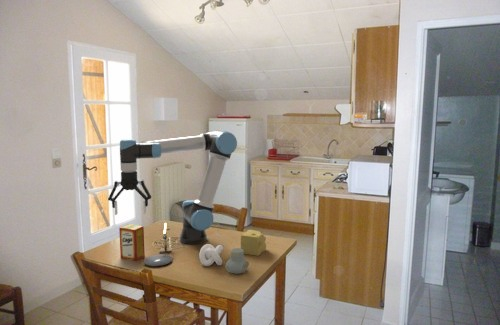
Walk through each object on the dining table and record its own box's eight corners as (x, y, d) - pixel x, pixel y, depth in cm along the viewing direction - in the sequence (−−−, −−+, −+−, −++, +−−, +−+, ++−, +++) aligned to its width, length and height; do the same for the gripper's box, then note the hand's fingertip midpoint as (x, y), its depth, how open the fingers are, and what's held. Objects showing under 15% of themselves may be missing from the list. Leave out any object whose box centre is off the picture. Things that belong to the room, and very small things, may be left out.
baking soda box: (144, 256, 185) (143, 225, 183) (136, 260, 179) (134, 229, 177) (129, 253, 189) (128, 223, 187) (120, 258, 183) (119, 227, 181)
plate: (172, 256, 185) (172, 253, 185) (171, 266, 173) (171, 263, 172) (145, 258, 183) (145, 255, 183) (143, 268, 170) (143, 265, 170)
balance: (171, 246, 199) (171, 221, 198) (171, 255, 186) (170, 229, 184) (160, 247, 198) (159, 222, 197) (159, 256, 185) (158, 230, 183)
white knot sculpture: (230, 266, 173) (229, 247, 172) (206, 271, 167) (206, 252, 166) (219, 258, 183) (219, 240, 182) (197, 263, 177) (196, 245, 176)
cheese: (266, 249, 194) (266, 231, 193) (258, 256, 185) (258, 237, 183) (248, 247, 199) (248, 229, 197) (239, 253, 189) (239, 234, 188)
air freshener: (240, 277, 160) (240, 255, 159) (223, 274, 164) (223, 253, 162) (250, 268, 170) (250, 247, 169) (234, 265, 174) (234, 245, 172)
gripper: (155, 169, 185) (157, 210, 187) (103, 170, 180) (105, 212, 183) (154, 171, 178) (156, 214, 180) (100, 172, 173) (102, 216, 176)
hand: (130, 213), depth 181 cm, fingers open, 13 cm apart
